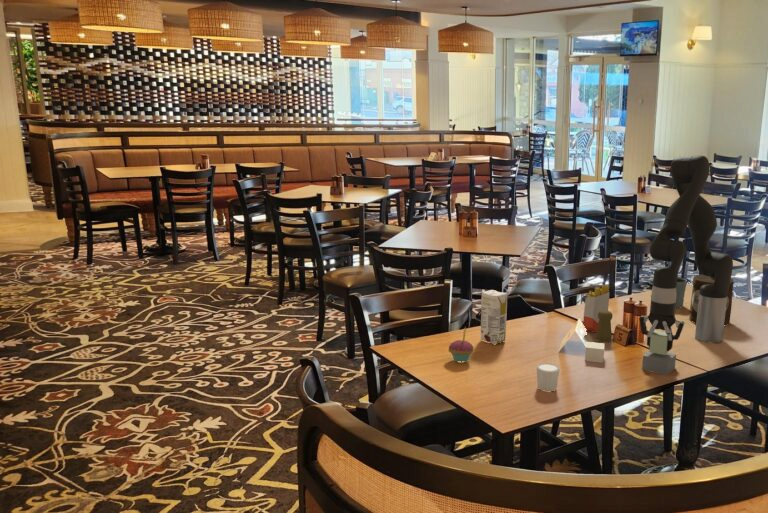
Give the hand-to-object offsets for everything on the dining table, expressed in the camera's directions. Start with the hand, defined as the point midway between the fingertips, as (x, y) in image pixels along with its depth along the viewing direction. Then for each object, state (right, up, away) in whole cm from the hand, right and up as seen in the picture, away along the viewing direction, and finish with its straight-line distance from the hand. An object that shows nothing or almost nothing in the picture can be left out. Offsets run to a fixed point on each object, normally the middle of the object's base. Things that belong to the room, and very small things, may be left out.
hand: (659, 348), depth 212 cm
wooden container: (+42, +4, +49) cm, 65 cm away
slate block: (0, -7, +1) cm, 7 cm away
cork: (-8, -1, +29) cm, 31 cm away
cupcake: (-65, -6, +9) cm, 66 cm away
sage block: (0, -1, 0) cm, 1 cm away
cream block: (-18, -5, +10) cm, 22 cm away
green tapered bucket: (+37, +9, +72) cm, 81 cm away
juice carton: (-51, -2, +28) cm, 58 cm away
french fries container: (-8, +1, +40) cm, 41 cm away
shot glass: (-41, -11, -14) cm, 44 cm away
